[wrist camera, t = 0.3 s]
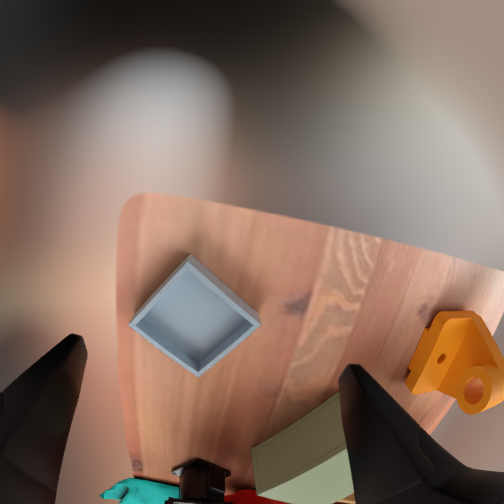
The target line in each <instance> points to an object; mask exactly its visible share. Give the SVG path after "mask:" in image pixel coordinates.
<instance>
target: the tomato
mask: <svg viewBox="0 0 504 504" xmlns="http://www.w3.org/2000/svg"><path fill="white" fill-rule="evenodd" d="M233 492H236V493H235V494H232V495H227V496H224V501H225V502H229V501H233V504H287V503H286V502H282V501H278V500H274V499H270V498H266V497H262V496H258V495H257V494H256V488H254V489H252V490H249V489H244V490H239V491H233Z"/></svg>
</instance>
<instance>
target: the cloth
mask: <svg viewBox="0 0 504 504" xmlns="http://www.w3.org/2000/svg"><path fill="white" fill-rule="evenodd" d="M100 496H101V497H102V498H103V499H112V498H113V499H117V500H121V501H120V502H119V504H164V503H165V500H168V499H169V497H173V498H178V496H179V487H175V486H170V485H166V484H161V483H157V482H151V481H146V480H140V479H134V478H128V479H125V480H122V481H120V482H118V483H117V484H115V485H114V486H112V487H111V489H109V490H106V491H105V492H104V493H102V494H101V495H100Z"/></svg>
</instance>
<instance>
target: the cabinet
mask: <svg viewBox="0 0 504 504" xmlns="http://www.w3.org/2000/svg"><path fill="white" fill-rule="evenodd" d="M251 455H252V463H253V471H254V479H255V486H256V494H257V495H258V496H262V497H266V498H270V499H274V500H278V501H282V502H287V503H292V504H333V503H335V502H337V501H339V500H341V499H343V498H345V497H347V496H349V495H351V494H353V493H354V489H353V482H352V476H351V470H350V464H349V458H348V452H347V447H346V441H345V436H344V430H343V425H342V419H341V408H340V396H339V391H338V392H337V393H336V394H334V395H333V396H332V397H330V398H329V399H328V400H326V401H325V402H323V403H322V404H321V405H319V406H318V407H316V408H315V409H314V410H312V411H311V412H309V413H308V414H306V415H305V416H303V417H302V418H300V419H299V420H297V421H296V422H294V423H293V424H291V425H290V426H288V427H287V428H285V429H284V430H282V431H280V432H279V433H277V434H275V435H274V436H272V437H271V438H269V439H267V440H265V441H264V442H262V443H260V444H259V445H257V446H255V447H253V448H252V449H251Z"/></svg>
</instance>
